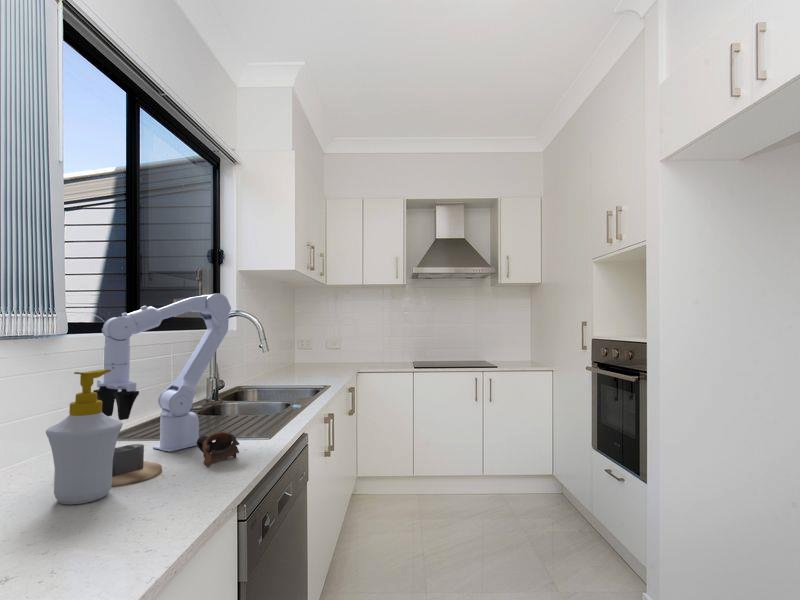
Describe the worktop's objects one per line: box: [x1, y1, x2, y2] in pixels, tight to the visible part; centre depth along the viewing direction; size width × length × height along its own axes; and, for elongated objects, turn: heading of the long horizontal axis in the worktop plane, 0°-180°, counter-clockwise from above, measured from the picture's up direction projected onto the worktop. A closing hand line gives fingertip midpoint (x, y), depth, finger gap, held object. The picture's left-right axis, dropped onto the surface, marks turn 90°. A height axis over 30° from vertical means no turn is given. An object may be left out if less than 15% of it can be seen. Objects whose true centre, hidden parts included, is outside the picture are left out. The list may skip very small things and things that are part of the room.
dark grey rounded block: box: [112, 443, 145, 477], centre depth 109 cm, size 12×4×5 cm, turn 148°
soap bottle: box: [45, 368, 123, 505], centre depth 96 cm, size 13×13×25 cm
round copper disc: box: [111, 460, 163, 487], centre depth 110 cm, size 16×16×1 cm
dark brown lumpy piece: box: [196, 431, 240, 468], centre depth 120 cm, size 12×10×8 cm
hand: (115, 417), depth 124 cm, fingers open, 7 cm apart
